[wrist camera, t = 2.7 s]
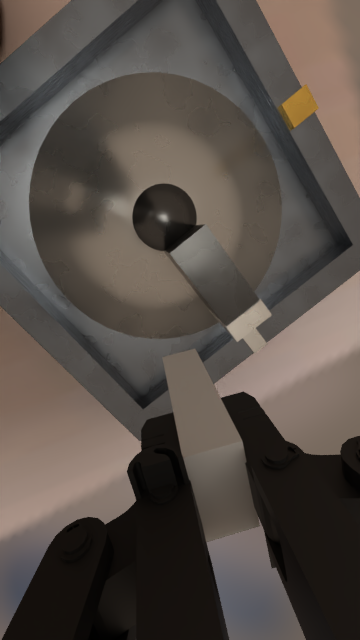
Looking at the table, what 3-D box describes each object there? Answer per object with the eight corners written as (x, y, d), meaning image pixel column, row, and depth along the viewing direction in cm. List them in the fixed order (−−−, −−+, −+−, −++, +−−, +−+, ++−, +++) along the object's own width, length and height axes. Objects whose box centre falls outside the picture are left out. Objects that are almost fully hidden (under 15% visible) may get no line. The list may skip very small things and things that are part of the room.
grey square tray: (-85, 189, 22) (-139, 178, 18) (185, -49, 21) (199, -124, 16) (139, 414, 29) (140, 446, 25) (351, 247, 28) (392, 249, 23)
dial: (-23, 195, 21) (-88, 180, 15) (181, 19, 20) (202, -76, 14) (144, 374, 26) (148, 419, 20) (314, 240, 25) (373, 243, 19)
